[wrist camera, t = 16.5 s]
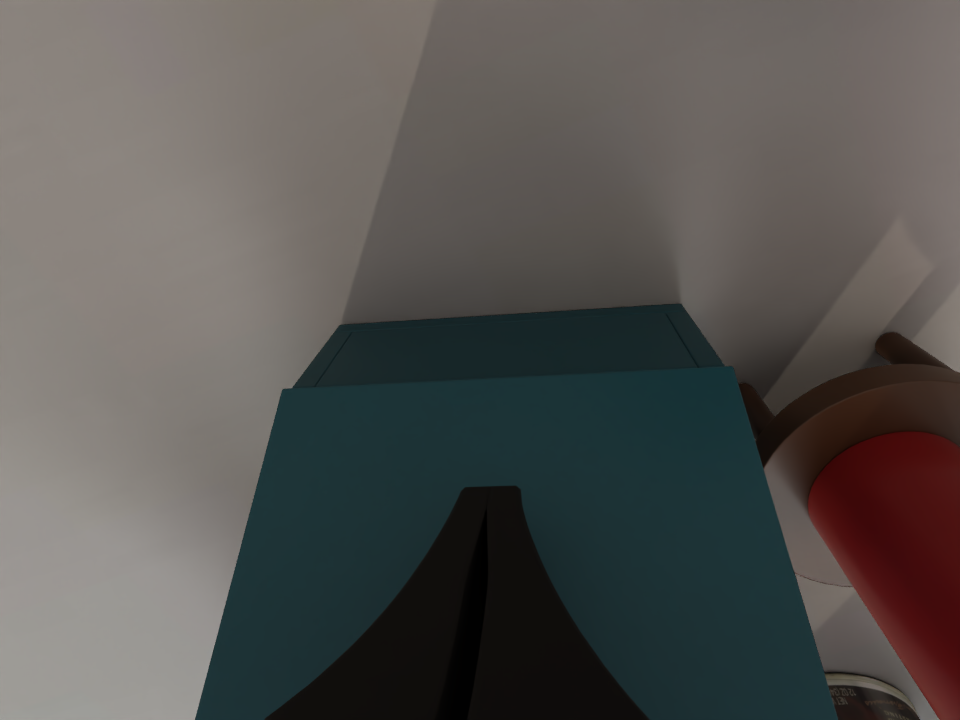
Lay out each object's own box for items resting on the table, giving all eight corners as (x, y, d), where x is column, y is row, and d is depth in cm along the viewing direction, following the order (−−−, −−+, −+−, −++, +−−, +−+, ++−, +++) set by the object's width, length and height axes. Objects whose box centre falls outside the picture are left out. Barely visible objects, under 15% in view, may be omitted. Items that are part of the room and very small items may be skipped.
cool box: (666, 531, 26) (696, 630, 22) (387, 537, 28) (358, 630, 23) (681, 302, 21) (726, 365, 17) (339, 324, 23) (290, 388, 18)
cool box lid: (898, 973, 10) (919, 986, 9) (157, 930, 11) (134, 939, 10) (727, 378, 17) (733, 364, 16) (290, 399, 18) (281, 388, 17)
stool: (957, 471, 24) (1045, 549, 20) (743, 530, 26) (783, 611, 22) (931, 288, 20) (1030, 338, 16) (687, 373, 23) (722, 436, 19)
